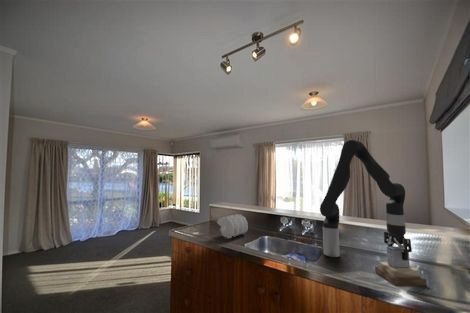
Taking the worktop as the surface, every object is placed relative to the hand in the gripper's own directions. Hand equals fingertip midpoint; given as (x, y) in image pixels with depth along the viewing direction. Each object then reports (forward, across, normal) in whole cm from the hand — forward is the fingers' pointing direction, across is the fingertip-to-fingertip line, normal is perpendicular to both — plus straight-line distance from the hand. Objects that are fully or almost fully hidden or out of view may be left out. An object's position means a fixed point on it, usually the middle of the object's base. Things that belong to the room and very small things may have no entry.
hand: (397, 256), depth 103 cm
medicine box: (+5, 0, 0) cm, 5 cm away
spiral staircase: (+11, +74, +80) cm, 109 cm away
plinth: (+10, 0, 0) cm, 10 cm away
